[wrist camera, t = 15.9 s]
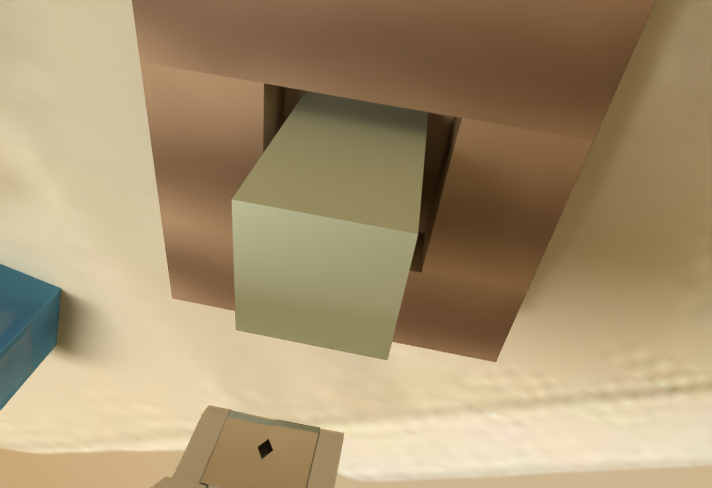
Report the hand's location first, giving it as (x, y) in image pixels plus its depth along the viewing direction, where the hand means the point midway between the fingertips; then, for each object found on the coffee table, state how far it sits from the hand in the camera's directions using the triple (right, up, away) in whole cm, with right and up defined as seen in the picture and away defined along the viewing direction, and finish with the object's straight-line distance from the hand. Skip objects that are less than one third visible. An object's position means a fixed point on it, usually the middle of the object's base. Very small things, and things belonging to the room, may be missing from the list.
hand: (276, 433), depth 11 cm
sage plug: (+2, +8, +11) cm, 14 cm away
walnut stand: (+2, +9, +12) cm, 15 cm away
